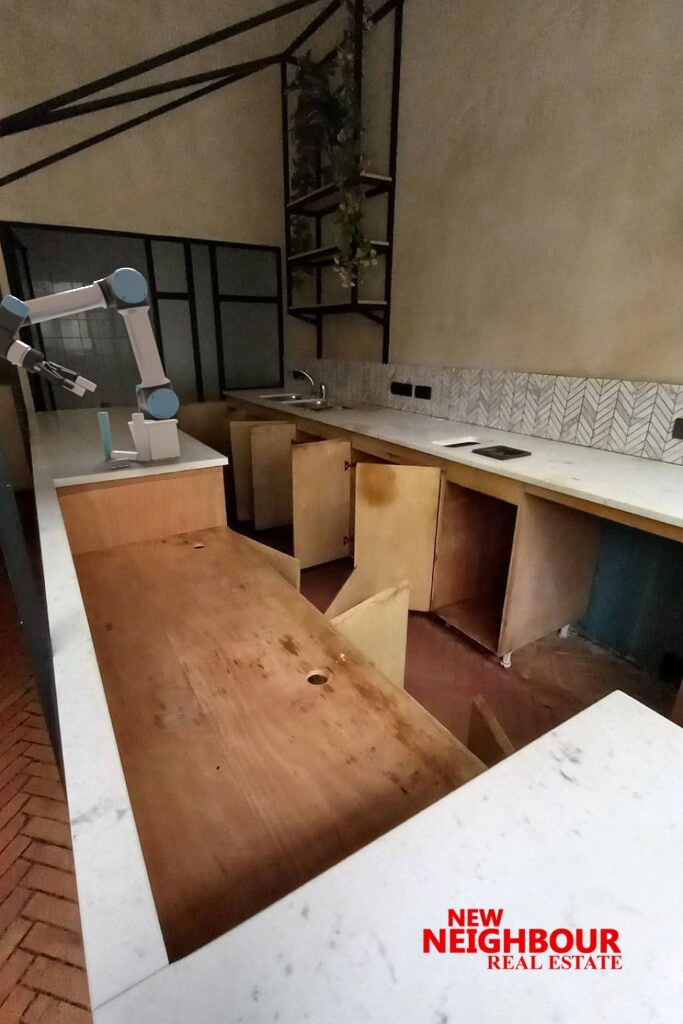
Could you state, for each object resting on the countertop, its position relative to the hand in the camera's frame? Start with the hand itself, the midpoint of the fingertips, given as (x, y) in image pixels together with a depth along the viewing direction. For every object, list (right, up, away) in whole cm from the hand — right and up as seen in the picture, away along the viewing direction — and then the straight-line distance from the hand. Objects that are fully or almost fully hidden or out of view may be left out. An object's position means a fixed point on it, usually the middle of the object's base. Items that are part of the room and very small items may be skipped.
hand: (89, 390), depth 175 cm
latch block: (+15, -28, -10) cm, 33 cm away
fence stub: (+26, -23, +2) cm, 35 cm away
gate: (+13, -24, 0) cm, 27 cm away
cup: (+14, -20, +15) cm, 28 cm away
